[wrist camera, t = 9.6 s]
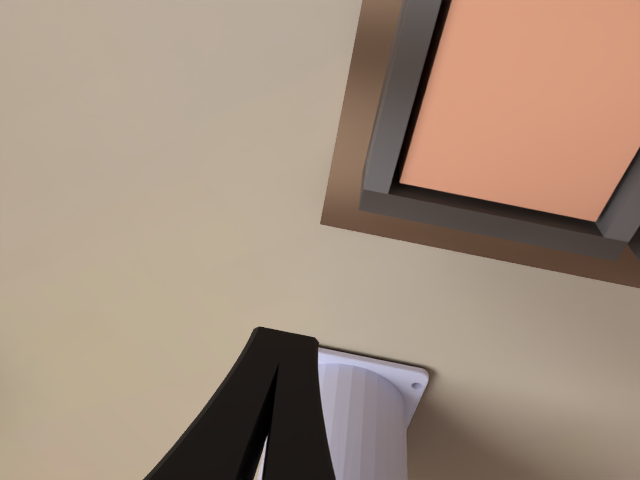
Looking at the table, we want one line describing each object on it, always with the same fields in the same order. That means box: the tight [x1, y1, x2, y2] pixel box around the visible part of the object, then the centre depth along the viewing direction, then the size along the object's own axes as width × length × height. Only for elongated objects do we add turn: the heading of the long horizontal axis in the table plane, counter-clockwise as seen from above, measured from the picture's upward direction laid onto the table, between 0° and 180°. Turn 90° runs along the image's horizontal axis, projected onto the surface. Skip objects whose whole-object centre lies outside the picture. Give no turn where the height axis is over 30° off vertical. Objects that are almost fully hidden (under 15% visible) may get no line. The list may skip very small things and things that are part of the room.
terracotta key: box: [399, 0, 640, 222], centre depth 15 cm, size 6×6×2 cm
